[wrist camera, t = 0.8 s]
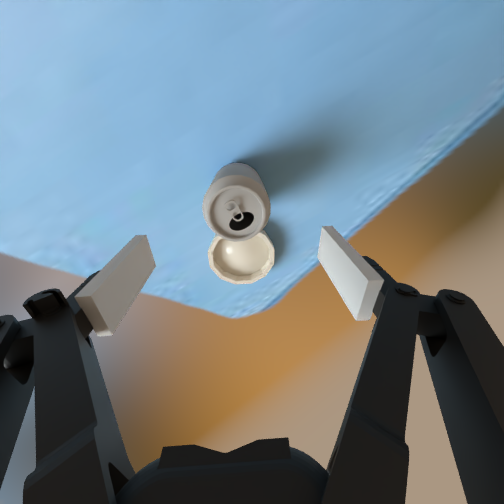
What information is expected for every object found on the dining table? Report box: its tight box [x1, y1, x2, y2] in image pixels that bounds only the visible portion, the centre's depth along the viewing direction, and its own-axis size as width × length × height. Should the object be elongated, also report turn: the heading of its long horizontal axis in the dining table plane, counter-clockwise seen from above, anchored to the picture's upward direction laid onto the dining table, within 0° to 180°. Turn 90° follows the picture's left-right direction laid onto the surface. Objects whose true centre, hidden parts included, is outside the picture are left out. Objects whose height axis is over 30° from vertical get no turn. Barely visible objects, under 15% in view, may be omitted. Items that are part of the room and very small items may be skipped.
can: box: [202, 163, 270, 242], centre depth 27 cm, size 8×8×12 cm
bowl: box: [208, 230, 274, 284], centre depth 36 cm, size 11×11×2 cm
